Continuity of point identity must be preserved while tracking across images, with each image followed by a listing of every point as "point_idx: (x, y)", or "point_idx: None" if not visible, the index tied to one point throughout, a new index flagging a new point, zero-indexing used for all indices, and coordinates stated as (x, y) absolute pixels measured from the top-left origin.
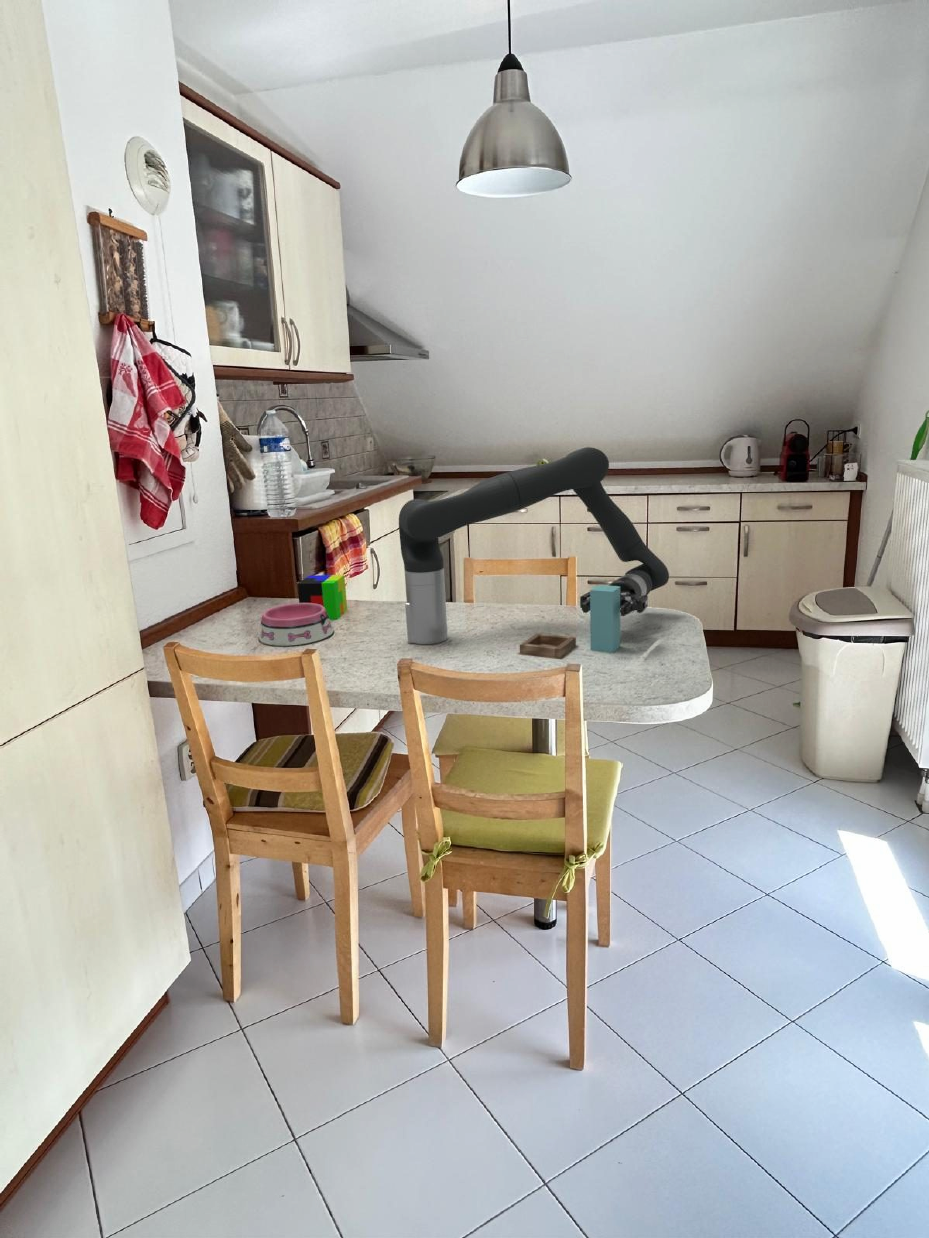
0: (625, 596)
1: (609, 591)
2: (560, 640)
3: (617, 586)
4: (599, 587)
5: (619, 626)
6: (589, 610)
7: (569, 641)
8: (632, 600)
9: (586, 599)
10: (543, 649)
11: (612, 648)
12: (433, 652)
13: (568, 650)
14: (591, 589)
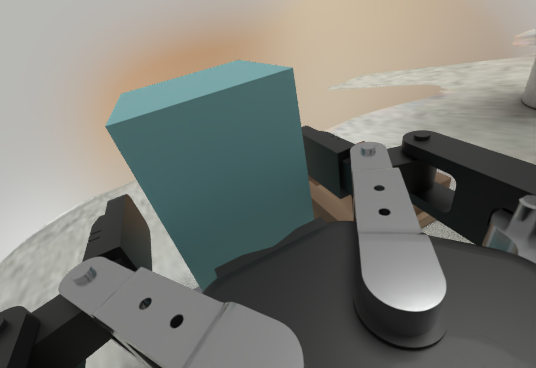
0: (145, 284)
1: (139, 89)
2: None
3: (129, 116)
4: (233, 71)
5: None
6: (320, 182)
7: (322, 204)
8: (73, 300)
9: (397, 158)
10: None
11: None
12: (463, 104)
13: (315, 214)
14: (240, 60)
